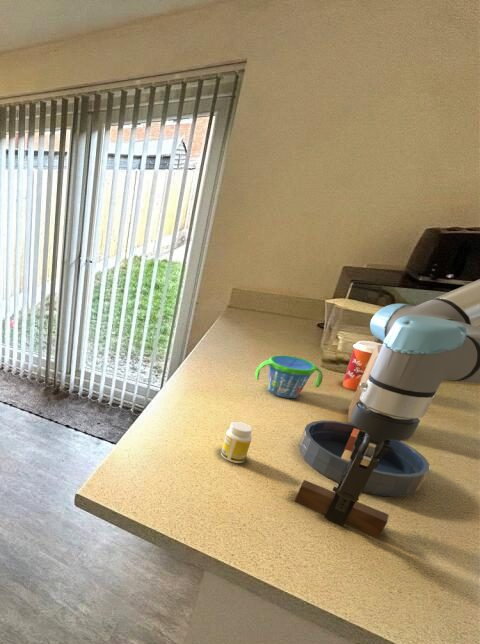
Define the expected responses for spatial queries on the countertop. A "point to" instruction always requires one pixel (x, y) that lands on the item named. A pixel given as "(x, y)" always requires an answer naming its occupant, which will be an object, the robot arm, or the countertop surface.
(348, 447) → the block terracotta
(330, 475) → the bowl
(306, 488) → the stick
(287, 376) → the snack cup
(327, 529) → the countertop surface
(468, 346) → the robot arm
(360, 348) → the paper cup
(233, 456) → the supplement bottle
